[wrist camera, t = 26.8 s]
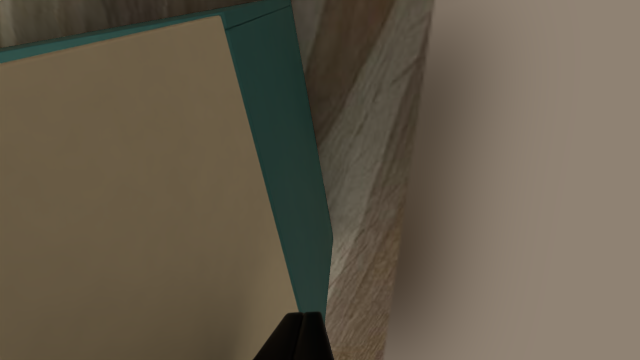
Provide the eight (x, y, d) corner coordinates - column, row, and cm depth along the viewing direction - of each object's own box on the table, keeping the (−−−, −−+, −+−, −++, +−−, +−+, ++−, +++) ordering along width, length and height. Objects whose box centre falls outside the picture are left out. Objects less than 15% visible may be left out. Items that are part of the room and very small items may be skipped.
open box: (289, -5, 17) (223, 10, 9) (333, 237, 23) (319, 380, 15) (-3, 48, 19) (-271, 100, 11) (108, 254, 26) (-9, 384, 17)
